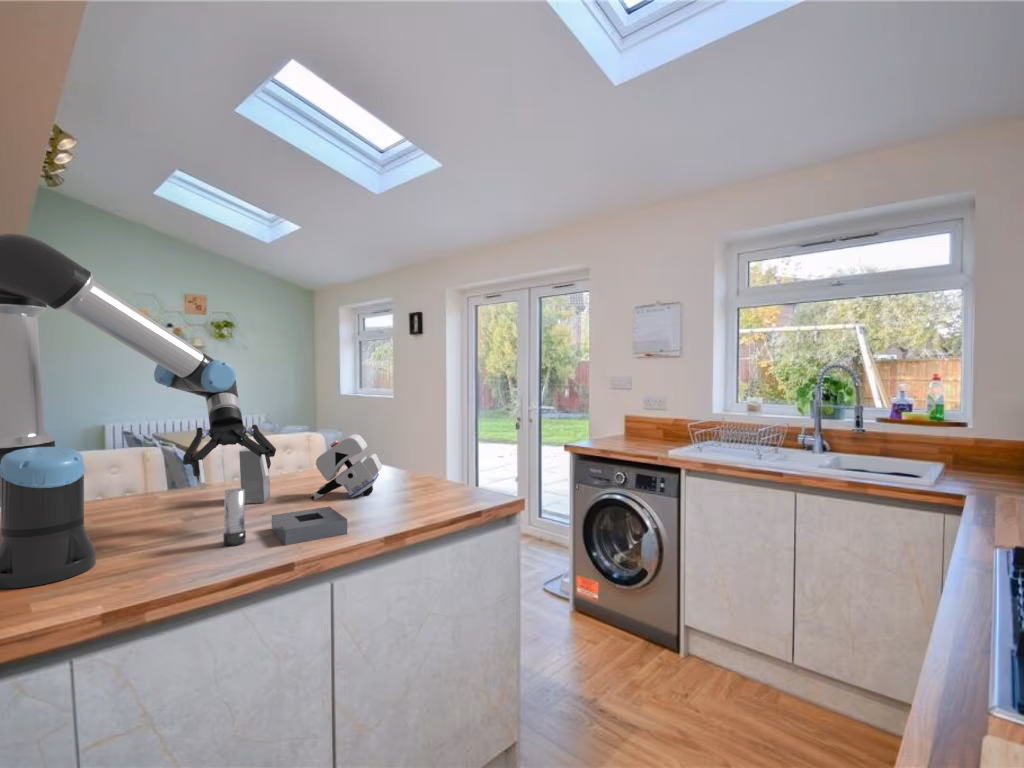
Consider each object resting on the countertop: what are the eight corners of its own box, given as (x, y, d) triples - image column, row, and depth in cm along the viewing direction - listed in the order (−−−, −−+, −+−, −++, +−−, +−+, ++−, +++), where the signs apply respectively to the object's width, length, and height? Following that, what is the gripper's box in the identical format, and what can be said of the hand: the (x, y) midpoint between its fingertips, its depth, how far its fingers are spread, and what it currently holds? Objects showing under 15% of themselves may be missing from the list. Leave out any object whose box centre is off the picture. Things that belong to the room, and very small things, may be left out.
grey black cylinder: (225, 547, 111) (224, 493, 111) (222, 542, 115) (222, 489, 114) (247, 543, 114) (247, 491, 114) (243, 538, 117) (243, 487, 117)
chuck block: (285, 545, 113) (285, 529, 113) (271, 529, 125) (271, 515, 125) (347, 533, 122) (347, 519, 122) (329, 519, 133) (329, 506, 133)
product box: (264, 503, 148) (264, 449, 148) (237, 504, 146) (238, 450, 146) (271, 496, 156) (271, 445, 156) (246, 497, 155) (246, 446, 154)
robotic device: (337, 514, 164) (301, 464, 162) (392, 476, 166) (357, 426, 164) (329, 523, 154) (290, 470, 152) (388, 483, 155) (350, 430, 154)
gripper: (273, 420, 142) (287, 484, 131) (166, 426, 127) (172, 498, 116) (278, 403, 138) (293, 467, 127) (168, 407, 122) (174, 480, 111)
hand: (235, 482), depth 121 cm, fingers open, 13 cm apart
